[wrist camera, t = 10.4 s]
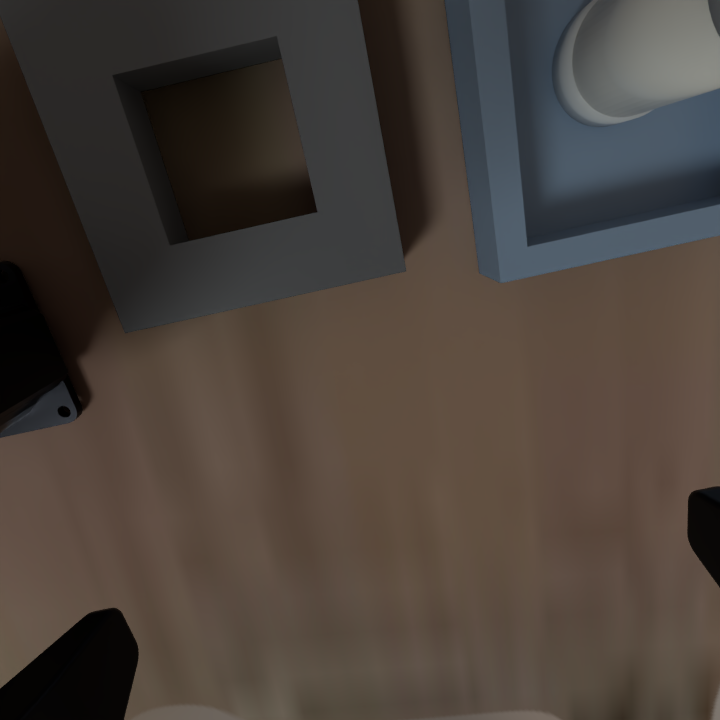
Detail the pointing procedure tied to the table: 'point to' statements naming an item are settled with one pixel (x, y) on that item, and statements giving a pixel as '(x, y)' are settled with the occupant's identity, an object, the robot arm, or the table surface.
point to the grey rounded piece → (635, 58)
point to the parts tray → (569, 152)
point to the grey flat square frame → (145, 165)
